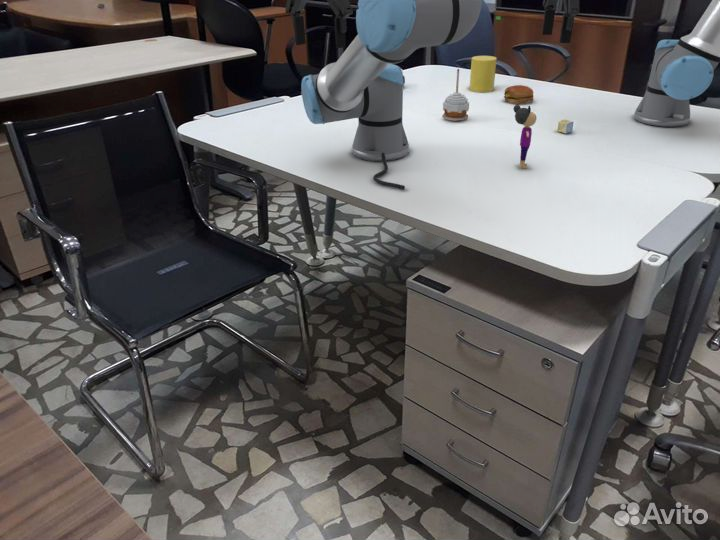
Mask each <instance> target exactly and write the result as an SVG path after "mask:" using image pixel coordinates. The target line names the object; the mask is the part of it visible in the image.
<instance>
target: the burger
mask: <svg viewBox="0 0 720 540" xmlns="http://www.w3.org/2000/svg"><path fill="white" fill-rule="evenodd" d="M503 98H504V100H505V101H507V103H509V104H514V105H515V104H516V105H521V104H525V103H531V102H534V90H533V89H532V88H531V87H530V86H527V85H523V84H520V85H519V84H517V85H511V86H510V85H509V86H508V87H506V88H505V89H504V96H503Z"/></svg>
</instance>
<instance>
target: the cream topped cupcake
mask: <svg viewBox="0 0 720 540" xmlns="http://www.w3.org/2000/svg"><path fill="white" fill-rule="evenodd" d="M459 81H460V68H457V69H456V84H455V85H456V86H455V92H453V93H450V94H449V95H447V97H445V99H444V100H443V103H442V110H443V111H444V113H443V114H442V118H443V119H445V120H449V121H456V122H458V121H463V120H466V119H469V114H468V112H469V109H470V102H469V99H468V98H467V96H465V94H462V93H461V92H459V83H460V82H459Z"/></svg>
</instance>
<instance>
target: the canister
mask: <svg viewBox="0 0 720 540" xmlns="http://www.w3.org/2000/svg"><path fill="white" fill-rule="evenodd" d="M497 60H498V59H497V57H496V56H492V55H475V56H472V57H471V60H470V61H471V62H470V63H471V64H470V75H469V76H470V77H469V91H471V92H476V93H490V92H493V91H494V90H495V82H496V81H495V79H496V69H497Z"/></svg>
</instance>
